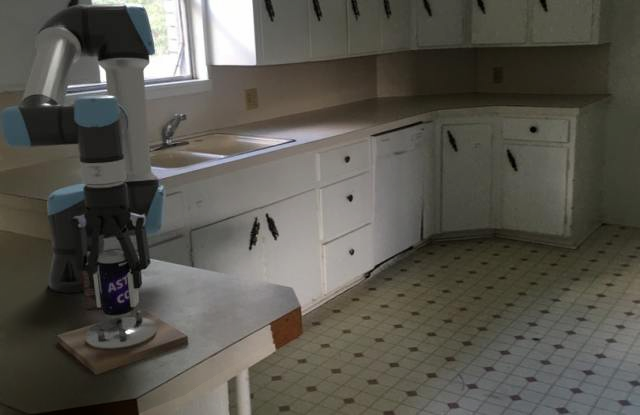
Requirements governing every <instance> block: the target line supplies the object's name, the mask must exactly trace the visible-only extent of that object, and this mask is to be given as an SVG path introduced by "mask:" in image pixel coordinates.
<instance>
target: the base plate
mask: <svg viewBox="0 0 640 415" xmlns="http://www.w3.org/2000/svg"><path fill="white" fill-rule="evenodd" d="M139 311H142V318H147V319H150V320H152V321H153V322H155V324H156V328H157V333H156V335H155V336H154V337H153V338H152V339H151V340H150V341H148V342H146V343H144V344H142V345H139V346H136V347H133V348H129V349H124V350H115V351H103V350H97V349H93V348H91V347H89V346H88V345H87V344H86V341H85V334H86V332H87V331H88V330H89V329H90V328H91V327H93V326H95V325H97V324H99V323H102V322H104V321H108V320H111V319H116V318H111V319H107V320H103V321H101V322H97V323H94V324H90V325H87V326H83V327H80V328H76V329H72V330H70V331H67V332H63V333H60V334H57V335H56V338H57V343H58V345H60V346H61V347H62V348H64V350H66V351H67V352H68V353H69V354H71V355H72V356H73V357H74V358H75V359H76V360H78V362H80V363H81V364H82V365H83V366H85V367H86V368H87V369H88V370H89V371H91V372H92V374H94V375H95V376H97V375H100V374H103V373H105V372H108V371H111V370H114V369H118V368H120V367H123V366H126V365H129V364H132V363H135V362H139V361H140V360H144V359H146V358H148V357H149V358H150V357H152V356H154V355H155V356H156V355H158V354H161V353H163V352H166V351H170V350H171V349H175V348H177V347H181V346H184V345H187V344H189V337H188V336H189V335H187V334H186V333H184V332H182V331H181V330H179V329H177V328H176V327H174V326H172V325H170V324H169V323H168V322H165V321H164V320H162V319H160V318H159V317H157V316H156V315H154V314H152V313H150V312H149V311H147V310H145V309H141V310H139ZM135 312H136V311H134V312H131V313H130V314H129V315H127V316H125V317H136V316H135ZM122 318H123V317H122Z"/></svg>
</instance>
